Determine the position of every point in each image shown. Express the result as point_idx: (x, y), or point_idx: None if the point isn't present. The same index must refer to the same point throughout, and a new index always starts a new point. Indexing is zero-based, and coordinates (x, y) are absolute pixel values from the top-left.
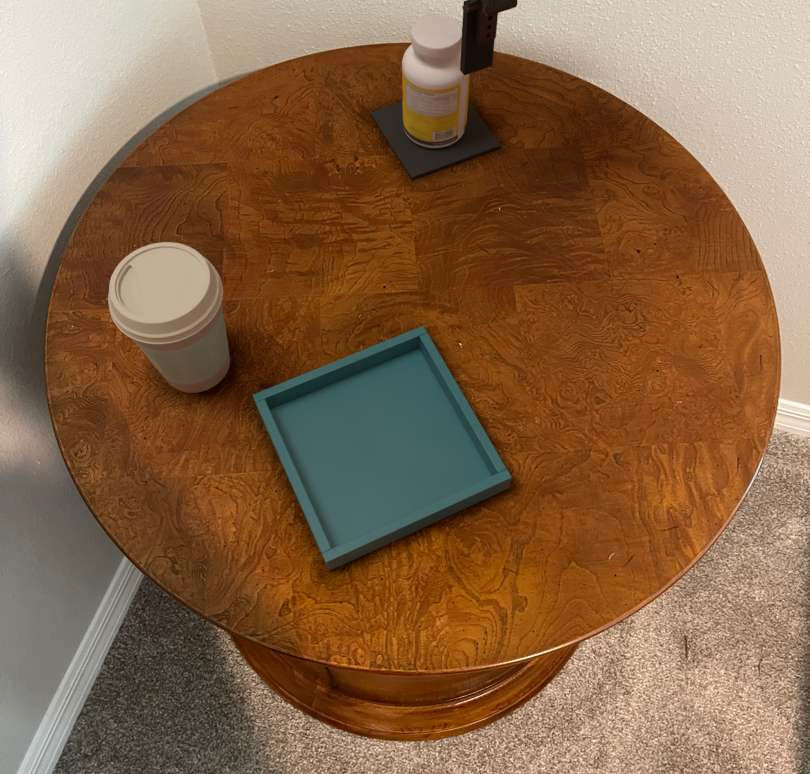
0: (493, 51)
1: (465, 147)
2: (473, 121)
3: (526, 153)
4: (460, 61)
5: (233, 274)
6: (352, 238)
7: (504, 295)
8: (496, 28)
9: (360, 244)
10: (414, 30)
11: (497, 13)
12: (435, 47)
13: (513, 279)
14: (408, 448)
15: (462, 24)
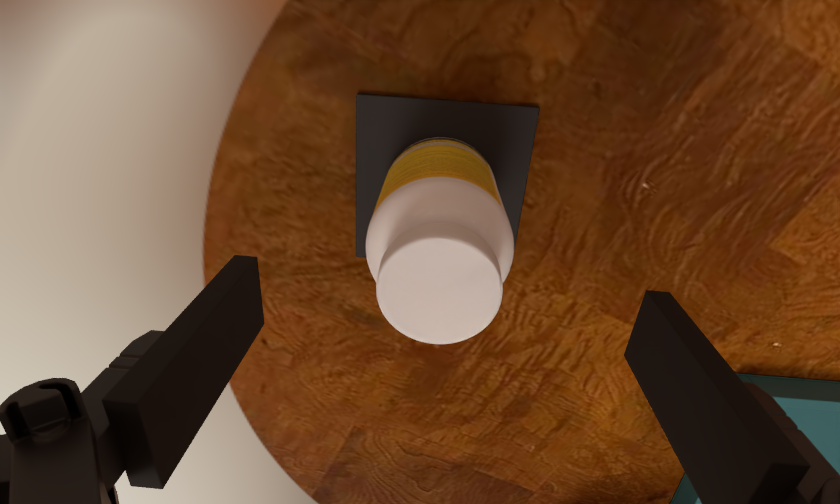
0: (690, 318)
1: (506, 166)
2: (461, 119)
3: (578, 69)
4: (632, 371)
5: (511, 474)
6: (549, 368)
7: (769, 264)
8: (791, 420)
9: (563, 365)
10: (409, 332)
11: (833, 471)
12: (486, 322)
13: (760, 240)
14: (825, 441)
15: (681, 463)
